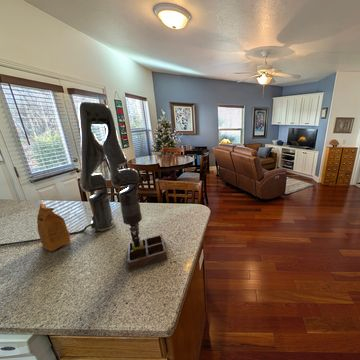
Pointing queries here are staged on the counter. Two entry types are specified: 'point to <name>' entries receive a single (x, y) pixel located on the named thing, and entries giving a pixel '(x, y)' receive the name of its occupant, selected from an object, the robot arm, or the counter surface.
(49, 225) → the coffee package
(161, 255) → the grid
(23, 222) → the counter surface
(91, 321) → the counter surface
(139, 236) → the supplement bottle
